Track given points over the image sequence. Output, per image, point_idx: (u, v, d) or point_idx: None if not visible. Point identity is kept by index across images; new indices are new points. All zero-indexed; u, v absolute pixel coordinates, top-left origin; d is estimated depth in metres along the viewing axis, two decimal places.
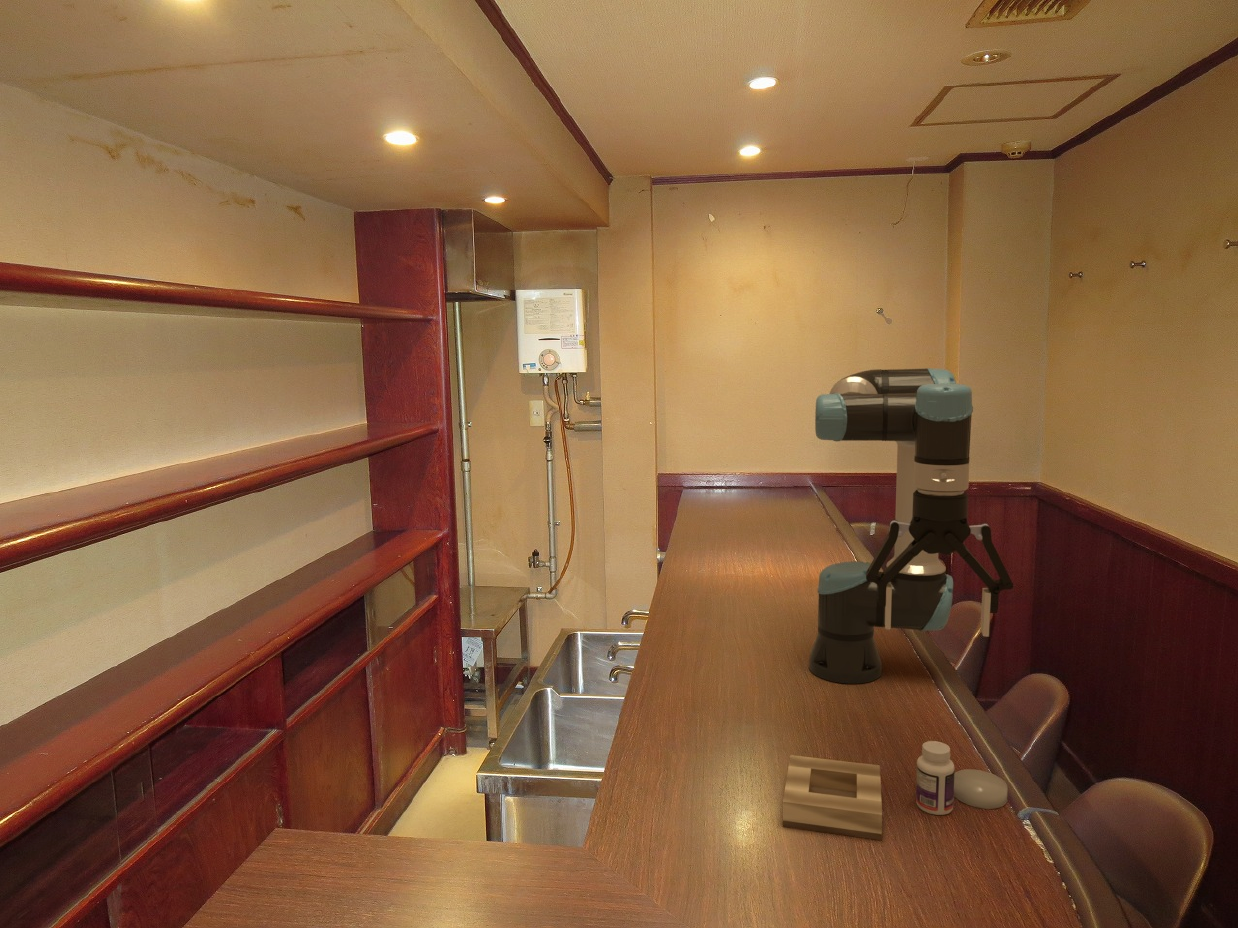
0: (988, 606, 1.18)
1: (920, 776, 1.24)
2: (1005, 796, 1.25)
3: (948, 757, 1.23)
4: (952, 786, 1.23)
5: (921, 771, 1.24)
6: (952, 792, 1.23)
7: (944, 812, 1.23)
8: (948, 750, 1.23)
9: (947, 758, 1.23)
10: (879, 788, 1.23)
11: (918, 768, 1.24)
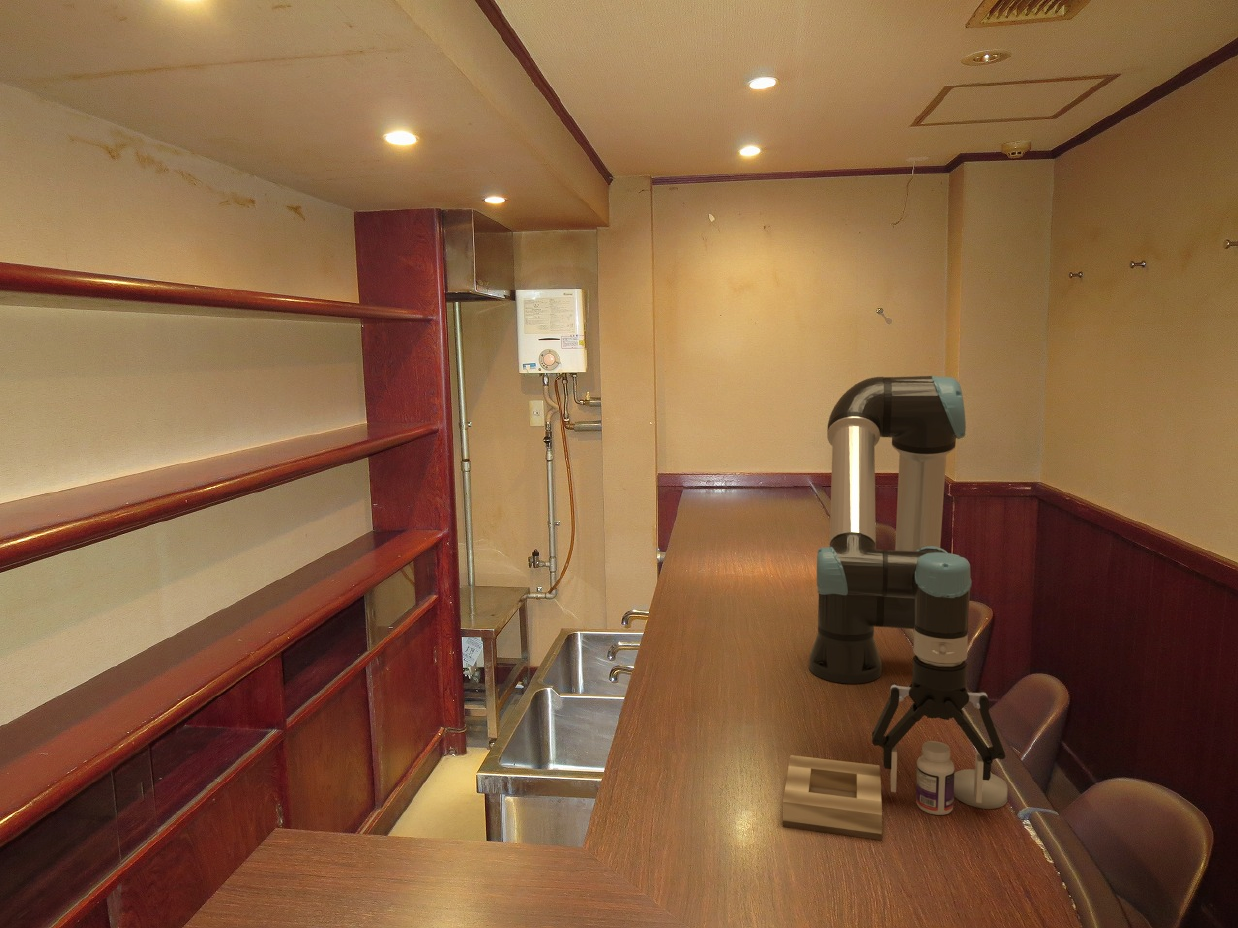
0: (981, 774, 1.21)
1: (920, 776, 1.24)
2: (1005, 796, 1.25)
3: (948, 757, 1.23)
4: (952, 786, 1.23)
5: (921, 771, 1.24)
6: (952, 792, 1.23)
7: (944, 812, 1.23)
8: (948, 750, 1.23)
9: (947, 758, 1.23)
10: (879, 788, 1.23)
11: (918, 768, 1.24)
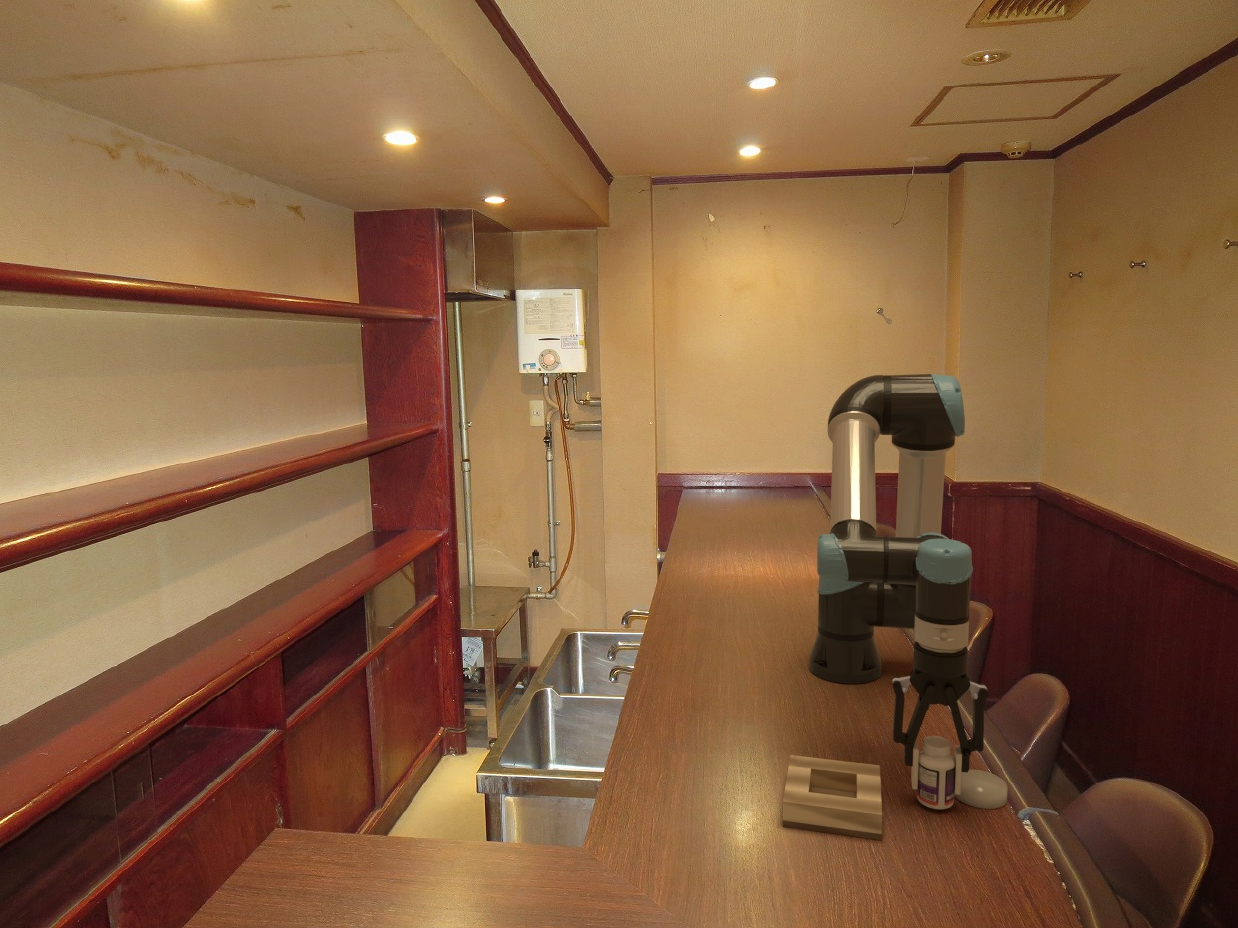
0: (959, 766, 1.23)
1: (920, 771, 1.24)
2: (1005, 796, 1.25)
3: (949, 752, 1.23)
4: (953, 781, 1.23)
5: (922, 765, 1.24)
6: (953, 787, 1.23)
7: (944, 806, 1.23)
8: (949, 745, 1.23)
9: (948, 753, 1.23)
10: (879, 788, 1.23)
11: (919, 763, 1.25)
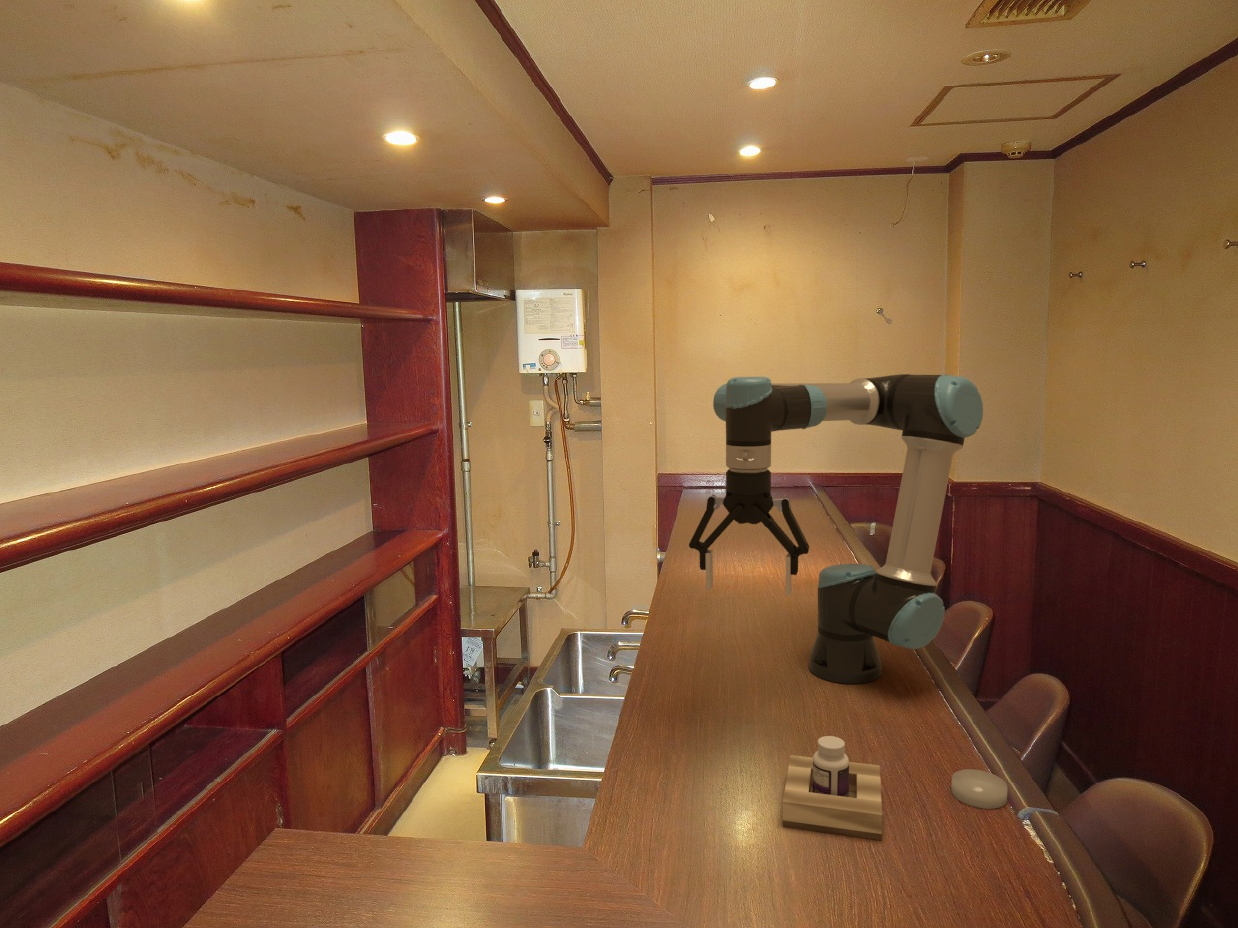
0: (788, 568, 1.37)
1: (814, 771, 1.24)
2: (1005, 796, 1.25)
3: (841, 752, 1.23)
4: (846, 781, 1.23)
5: (815, 765, 1.24)
6: (846, 787, 1.23)
7: None
8: (842, 745, 1.23)
9: (840, 753, 1.23)
10: (879, 788, 1.23)
11: (813, 763, 1.25)
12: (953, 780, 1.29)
